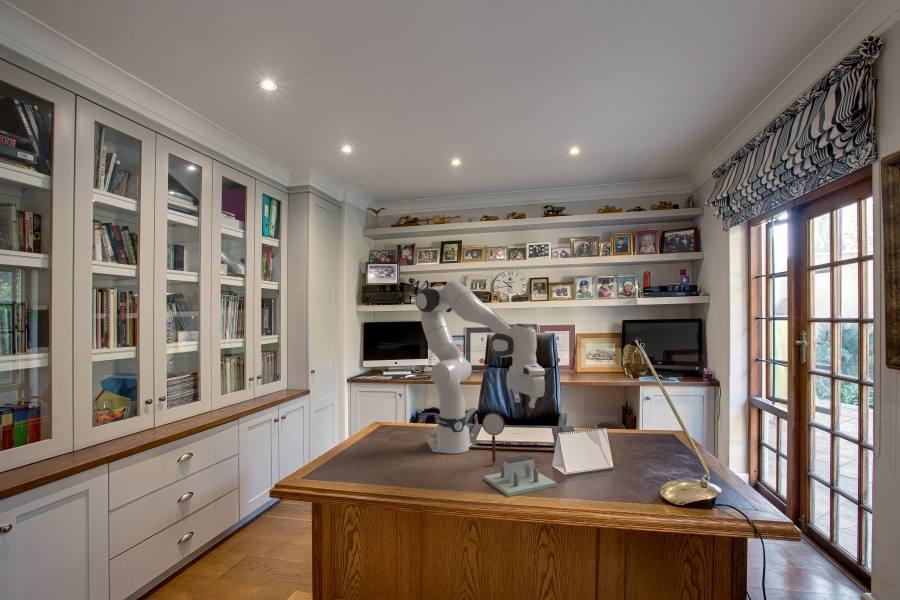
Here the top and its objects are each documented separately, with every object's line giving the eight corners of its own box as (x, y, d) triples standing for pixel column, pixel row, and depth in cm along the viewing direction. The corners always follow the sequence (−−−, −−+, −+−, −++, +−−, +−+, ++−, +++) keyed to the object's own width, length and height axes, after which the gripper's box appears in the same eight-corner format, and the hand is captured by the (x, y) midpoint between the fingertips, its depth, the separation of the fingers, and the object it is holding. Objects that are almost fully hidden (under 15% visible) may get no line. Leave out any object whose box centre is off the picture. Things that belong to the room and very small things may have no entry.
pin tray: (484, 479, 148) (483, 464, 148) (528, 470, 156) (528, 456, 156) (508, 496, 133) (508, 480, 134) (556, 486, 141) (556, 470, 141)
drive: (504, 479, 144) (503, 459, 144) (528, 474, 148) (528, 454, 149) (509, 483, 141) (509, 462, 141) (534, 478, 145) (534, 457, 145)
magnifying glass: (482, 464, 163) (481, 412, 163) (483, 463, 164) (482, 411, 165) (504, 466, 160) (503, 413, 161) (505, 465, 162) (504, 412, 163)
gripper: (502, 364, 164) (502, 399, 164) (533, 371, 146) (532, 411, 145) (516, 363, 167) (516, 398, 167) (547, 370, 148) (547, 410, 148)
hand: (524, 404), depth 156 cm, fingers open, 8 cm apart
